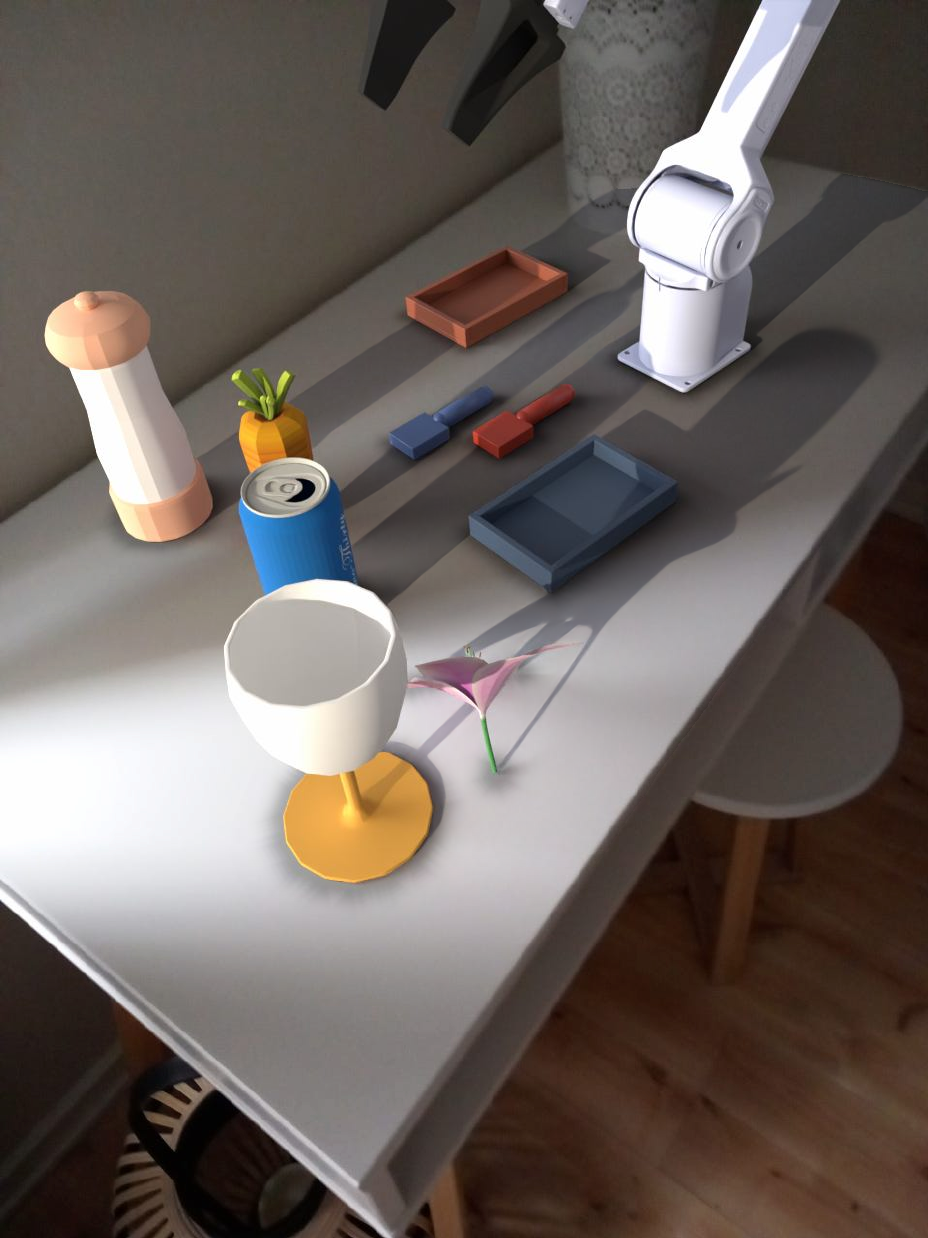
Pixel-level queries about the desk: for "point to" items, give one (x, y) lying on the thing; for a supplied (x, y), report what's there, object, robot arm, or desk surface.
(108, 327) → the pepper shaker
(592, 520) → the blue tray
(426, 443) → the blue handled block
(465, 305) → the red tray
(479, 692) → the lily
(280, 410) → the carrot
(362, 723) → the cup
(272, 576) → the beverage can
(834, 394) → the desk surface
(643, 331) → the robot arm
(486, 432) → the red handled block
